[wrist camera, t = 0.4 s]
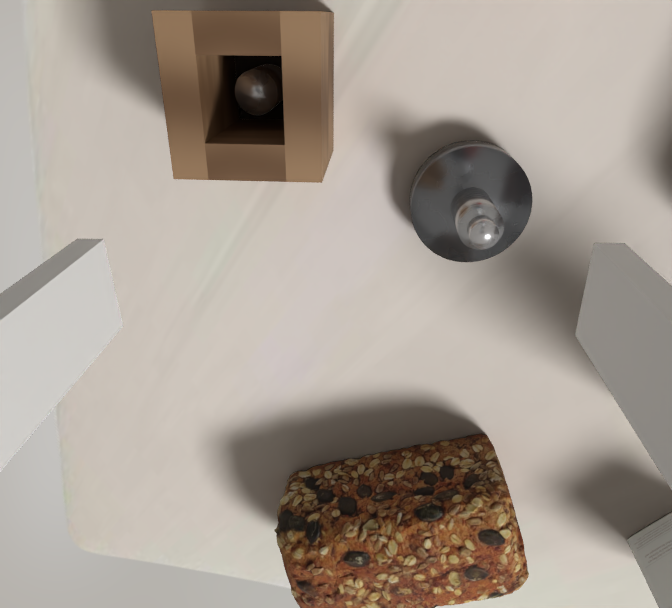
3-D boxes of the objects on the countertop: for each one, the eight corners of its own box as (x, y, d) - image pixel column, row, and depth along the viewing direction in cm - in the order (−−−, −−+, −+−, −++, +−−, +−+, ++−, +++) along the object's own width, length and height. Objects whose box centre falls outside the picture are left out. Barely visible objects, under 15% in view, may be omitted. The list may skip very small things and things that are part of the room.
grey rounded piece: (249, 63, 34) (232, 69, 30) (288, 63, 34) (276, 69, 30) (252, 104, 35) (236, 114, 31) (289, 104, 35) (278, 115, 31)
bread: (319, 542, 54) (307, 644, 45) (283, 461, 49) (262, 558, 41) (512, 512, 50) (541, 618, 41) (493, 423, 46) (520, 520, 37)
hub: (413, 139, 36) (421, 165, 29) (533, 141, 35) (568, 169, 29) (406, 249, 39) (411, 294, 33) (515, 252, 39) (541, 299, 32)
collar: (200, 12, 33) (151, 10, 26) (333, 12, 33) (320, 11, 25) (213, 147, 37) (173, 179, 30) (333, 150, 36) (321, 182, 29)
